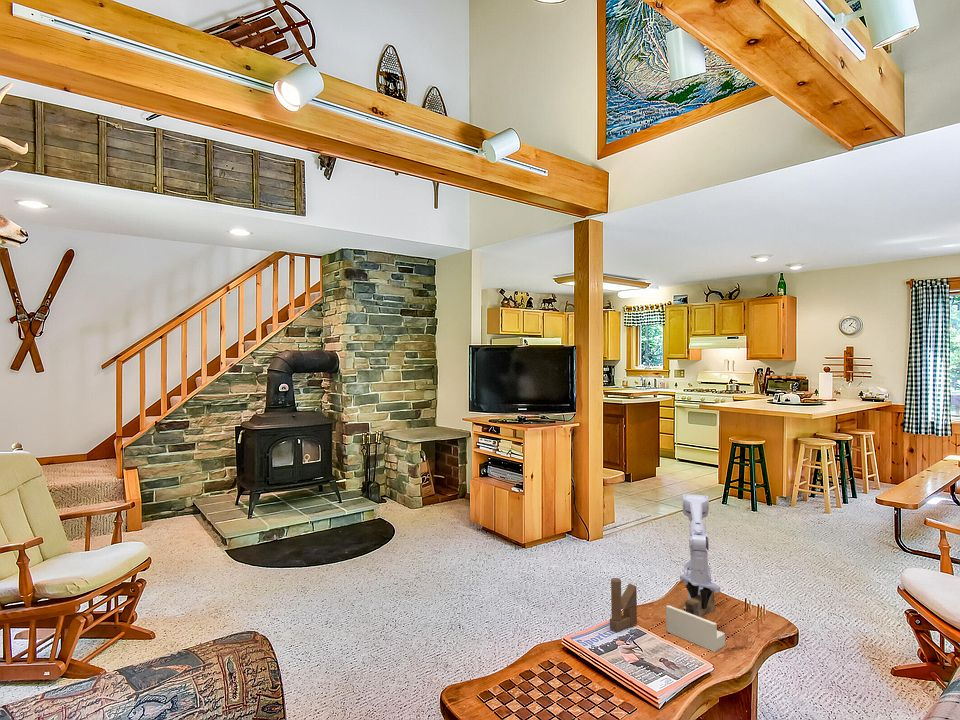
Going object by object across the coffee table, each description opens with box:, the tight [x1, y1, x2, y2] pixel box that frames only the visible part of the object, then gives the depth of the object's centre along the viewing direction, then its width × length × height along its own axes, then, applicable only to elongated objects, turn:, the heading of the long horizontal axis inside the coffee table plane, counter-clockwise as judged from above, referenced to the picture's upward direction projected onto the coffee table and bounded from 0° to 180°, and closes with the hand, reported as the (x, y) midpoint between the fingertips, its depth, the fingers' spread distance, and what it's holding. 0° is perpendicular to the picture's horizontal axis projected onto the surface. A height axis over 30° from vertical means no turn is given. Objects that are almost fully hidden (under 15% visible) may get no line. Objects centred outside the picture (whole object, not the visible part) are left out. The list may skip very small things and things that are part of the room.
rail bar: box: [685, 592, 716, 618], centre depth 191 cm, size 14×3×6 cm, turn 128°
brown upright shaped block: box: [609, 577, 638, 633], centre depth 194 cm, size 4×11×18 cm, turn 122°
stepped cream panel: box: [665, 604, 726, 653], centre depth 185 cm, size 7×18×9 cm, turn 38°
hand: (699, 606), depth 190 cm, fingers closed on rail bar, 3 cm apart
